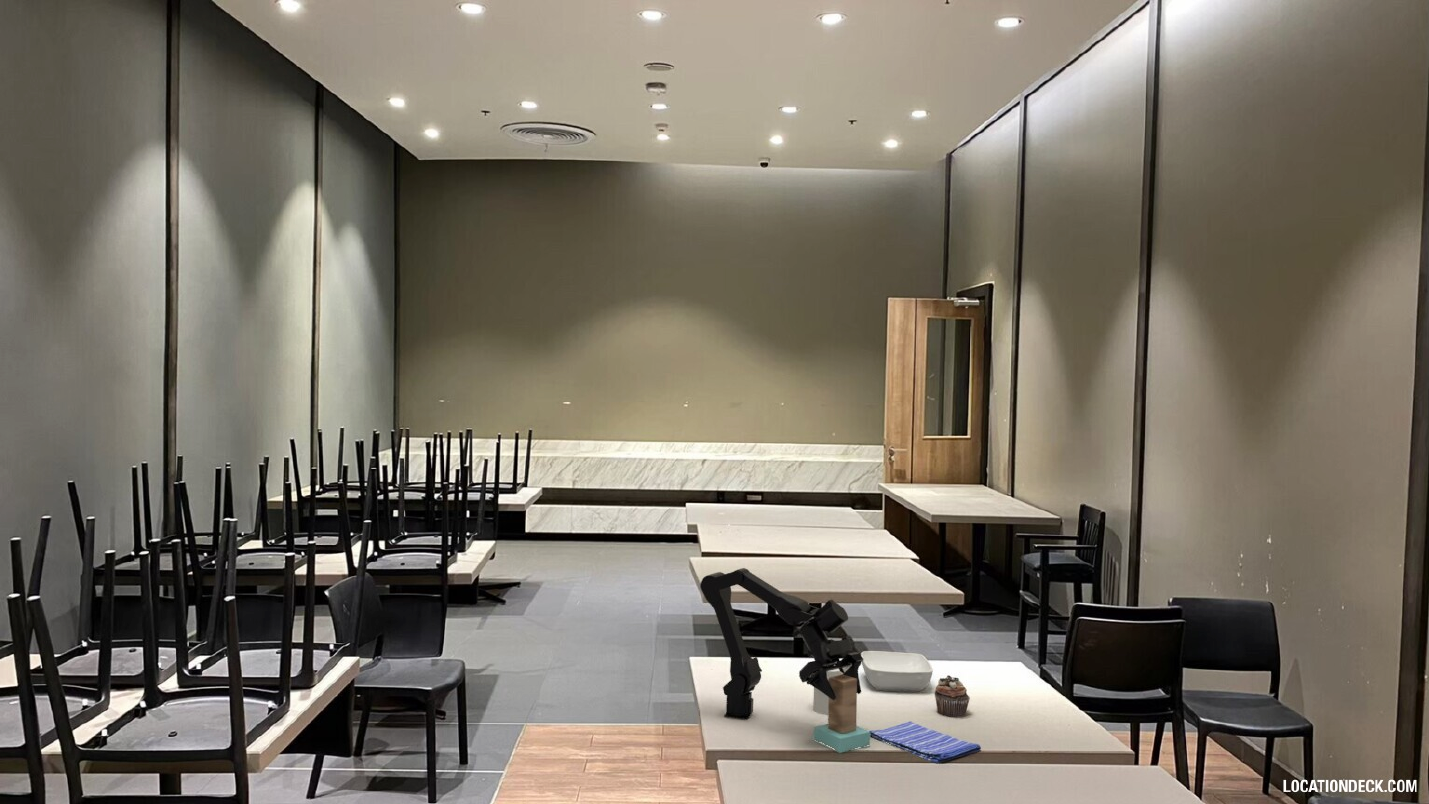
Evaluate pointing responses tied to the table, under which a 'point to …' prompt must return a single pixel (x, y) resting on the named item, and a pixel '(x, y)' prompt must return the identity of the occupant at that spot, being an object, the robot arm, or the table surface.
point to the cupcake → (951, 697)
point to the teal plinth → (842, 738)
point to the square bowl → (896, 670)
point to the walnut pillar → (843, 704)
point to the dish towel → (925, 742)
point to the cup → (823, 695)
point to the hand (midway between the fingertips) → (847, 696)
